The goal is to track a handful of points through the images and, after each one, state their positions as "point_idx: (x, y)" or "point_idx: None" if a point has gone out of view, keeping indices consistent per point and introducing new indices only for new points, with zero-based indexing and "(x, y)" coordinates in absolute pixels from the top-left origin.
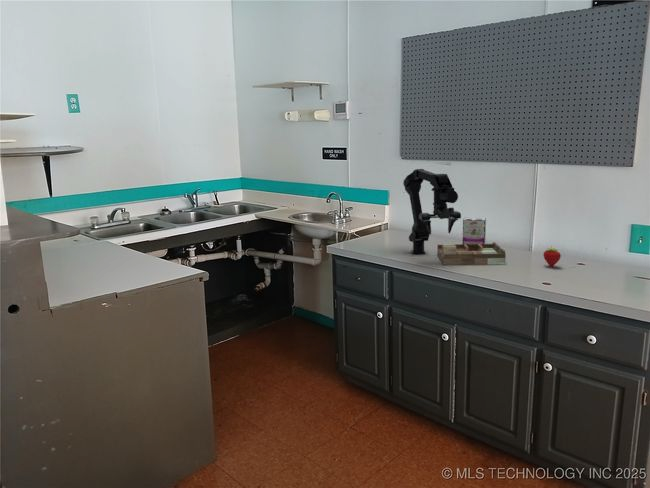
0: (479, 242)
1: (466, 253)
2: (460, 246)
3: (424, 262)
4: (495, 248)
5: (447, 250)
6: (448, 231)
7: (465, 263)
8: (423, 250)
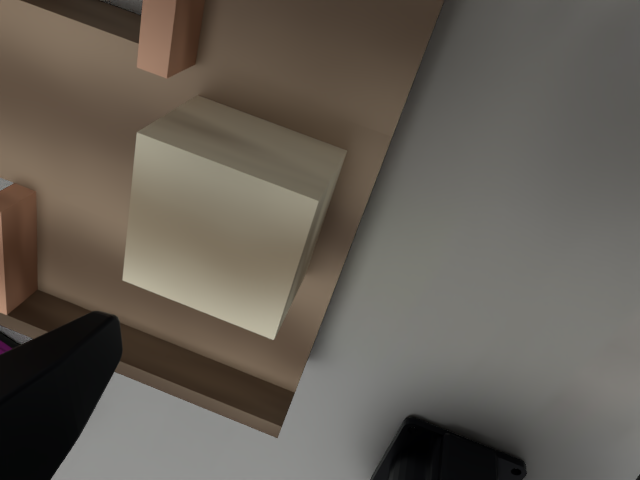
0: None
1: (54, 96)
2: (56, 316)
3: (636, 160)
4: None
5: (287, 158)
6: (101, 381)
7: None
8: (410, 461)
